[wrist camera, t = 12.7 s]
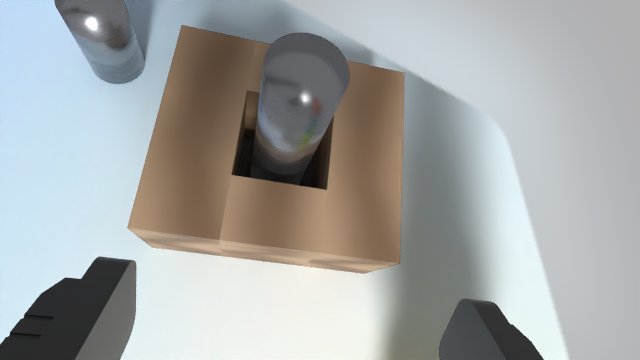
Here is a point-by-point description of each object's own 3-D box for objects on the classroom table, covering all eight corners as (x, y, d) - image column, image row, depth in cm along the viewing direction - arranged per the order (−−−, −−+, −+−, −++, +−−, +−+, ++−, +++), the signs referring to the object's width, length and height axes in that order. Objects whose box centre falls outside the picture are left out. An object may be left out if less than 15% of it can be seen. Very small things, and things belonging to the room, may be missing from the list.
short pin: (85, 78, 31) (45, 16, 24) (99, 37, 32) (65, -32, 26) (138, 88, 31) (113, 30, 25) (149, 47, 33) (129, -18, 26)
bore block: (152, 247, 28) (127, 228, 21) (192, 81, 33) (181, 25, 26) (364, 273, 30) (399, 263, 24) (372, 116, 35) (404, 72, 29)
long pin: (246, 195, 30) (256, 99, 17) (254, 149, 32) (269, 24, 18) (296, 203, 31) (346, 116, 17) (302, 157, 32) (352, 43, 19)
